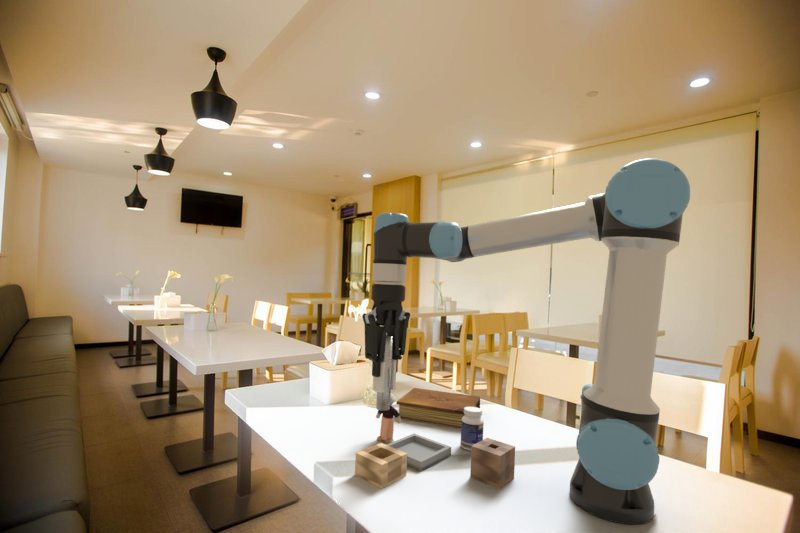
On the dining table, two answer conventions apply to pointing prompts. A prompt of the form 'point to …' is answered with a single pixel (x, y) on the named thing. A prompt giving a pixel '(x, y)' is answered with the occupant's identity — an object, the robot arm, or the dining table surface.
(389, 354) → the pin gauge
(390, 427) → the grandmother figurine
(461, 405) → the diary
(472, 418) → the pill bottle
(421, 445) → the tray
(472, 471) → the walnut block
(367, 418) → the dining table surface
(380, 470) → the oak block
